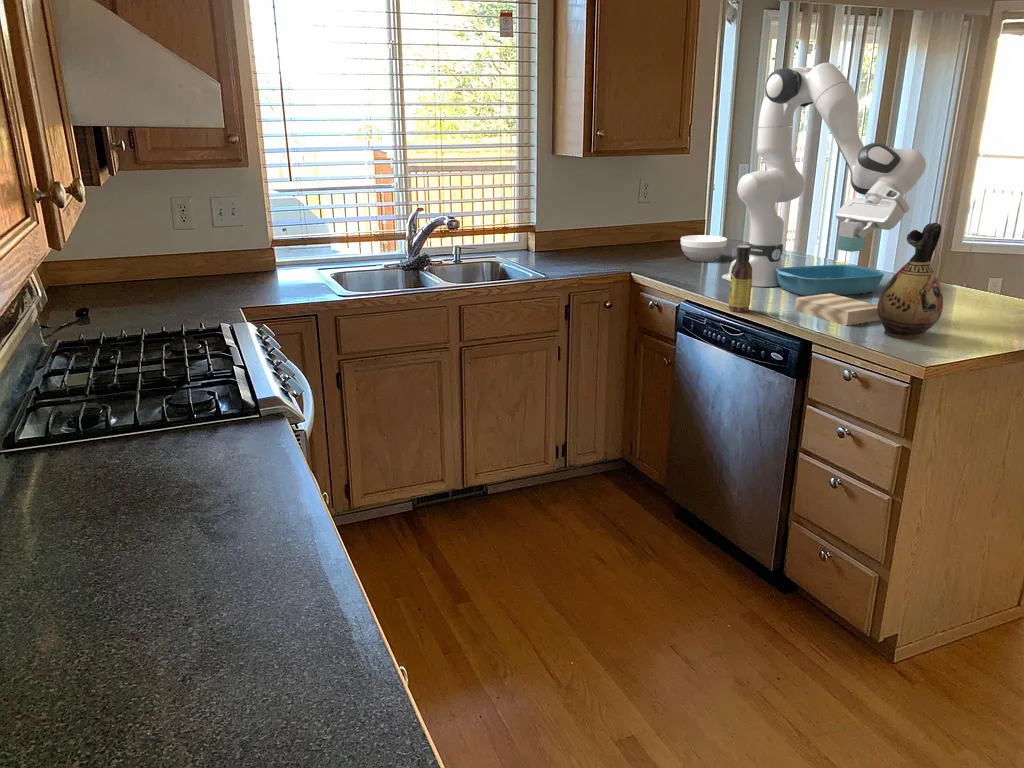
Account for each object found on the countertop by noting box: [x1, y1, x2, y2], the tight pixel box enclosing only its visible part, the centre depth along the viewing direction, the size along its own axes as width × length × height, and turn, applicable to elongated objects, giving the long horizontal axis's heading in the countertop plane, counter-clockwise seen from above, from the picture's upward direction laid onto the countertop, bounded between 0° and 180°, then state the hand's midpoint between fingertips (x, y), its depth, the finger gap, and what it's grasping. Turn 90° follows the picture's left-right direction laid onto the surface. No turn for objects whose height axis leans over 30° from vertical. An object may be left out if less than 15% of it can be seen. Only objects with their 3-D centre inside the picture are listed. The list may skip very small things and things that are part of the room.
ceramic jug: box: [877, 222, 944, 340], centre depth 200 cm, size 17×15×30 cm
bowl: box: [680, 234, 728, 263], centre depth 315 cm, size 19×19×9 cm
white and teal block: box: [836, 221, 867, 253], centre depth 219 cm, size 5×5×8 cm
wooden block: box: [794, 293, 880, 326], centre depth 225 cm, size 20×14×4 cm
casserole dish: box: [776, 264, 885, 297], centre depth 257 cm, size 37×22×7 cm, turn 106°
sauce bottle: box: [728, 244, 752, 313], centre depth 229 cm, size 6×6×20 cm
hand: (850, 234), depth 219 cm, fingers closed on white and teal block, 5 cm apart
